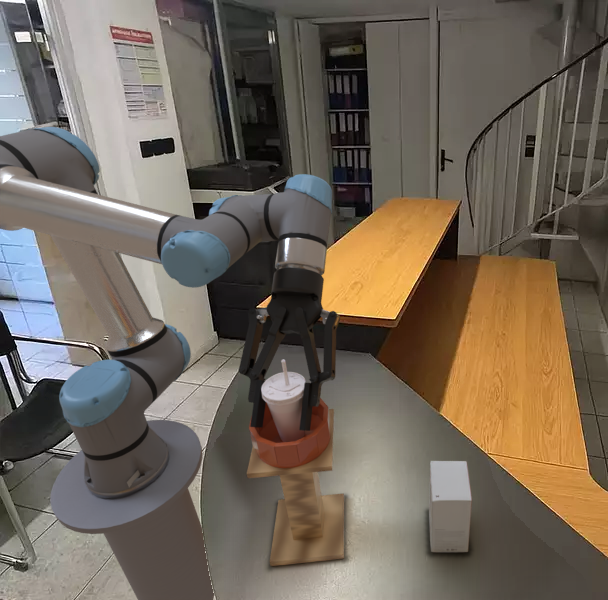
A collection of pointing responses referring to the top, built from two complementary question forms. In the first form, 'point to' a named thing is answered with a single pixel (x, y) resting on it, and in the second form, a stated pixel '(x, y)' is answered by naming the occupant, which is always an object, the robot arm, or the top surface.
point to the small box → (449, 506)
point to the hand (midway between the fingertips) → (280, 428)
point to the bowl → (295, 451)
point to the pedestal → (304, 511)
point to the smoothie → (285, 402)
